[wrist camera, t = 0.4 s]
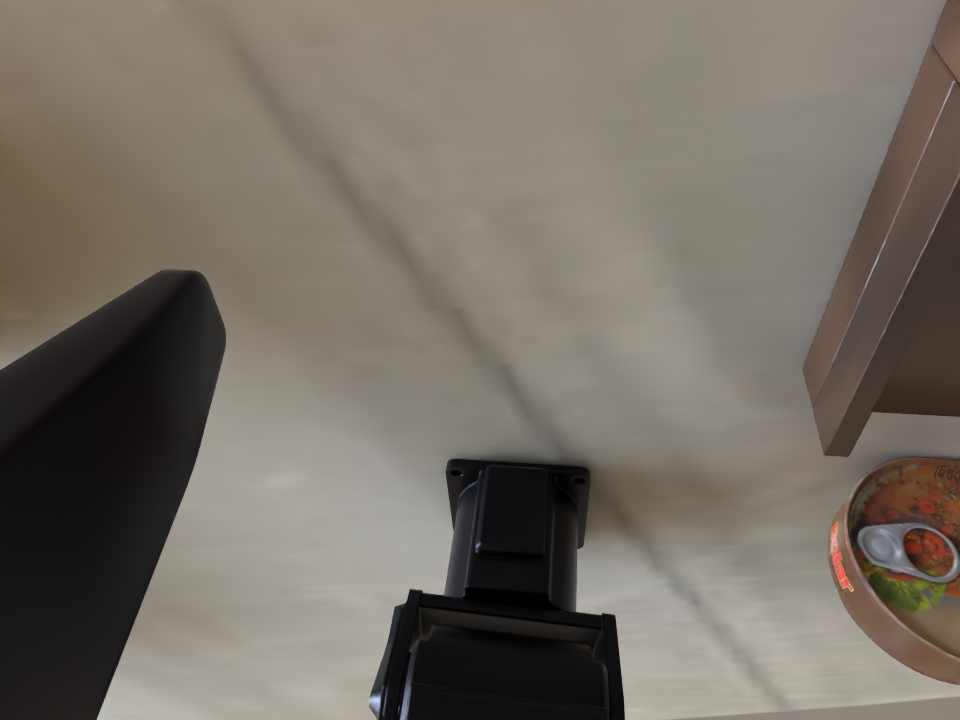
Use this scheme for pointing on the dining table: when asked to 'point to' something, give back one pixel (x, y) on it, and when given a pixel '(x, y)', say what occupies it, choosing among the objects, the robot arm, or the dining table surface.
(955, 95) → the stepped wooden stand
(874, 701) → the dining table surface
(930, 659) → the tin
